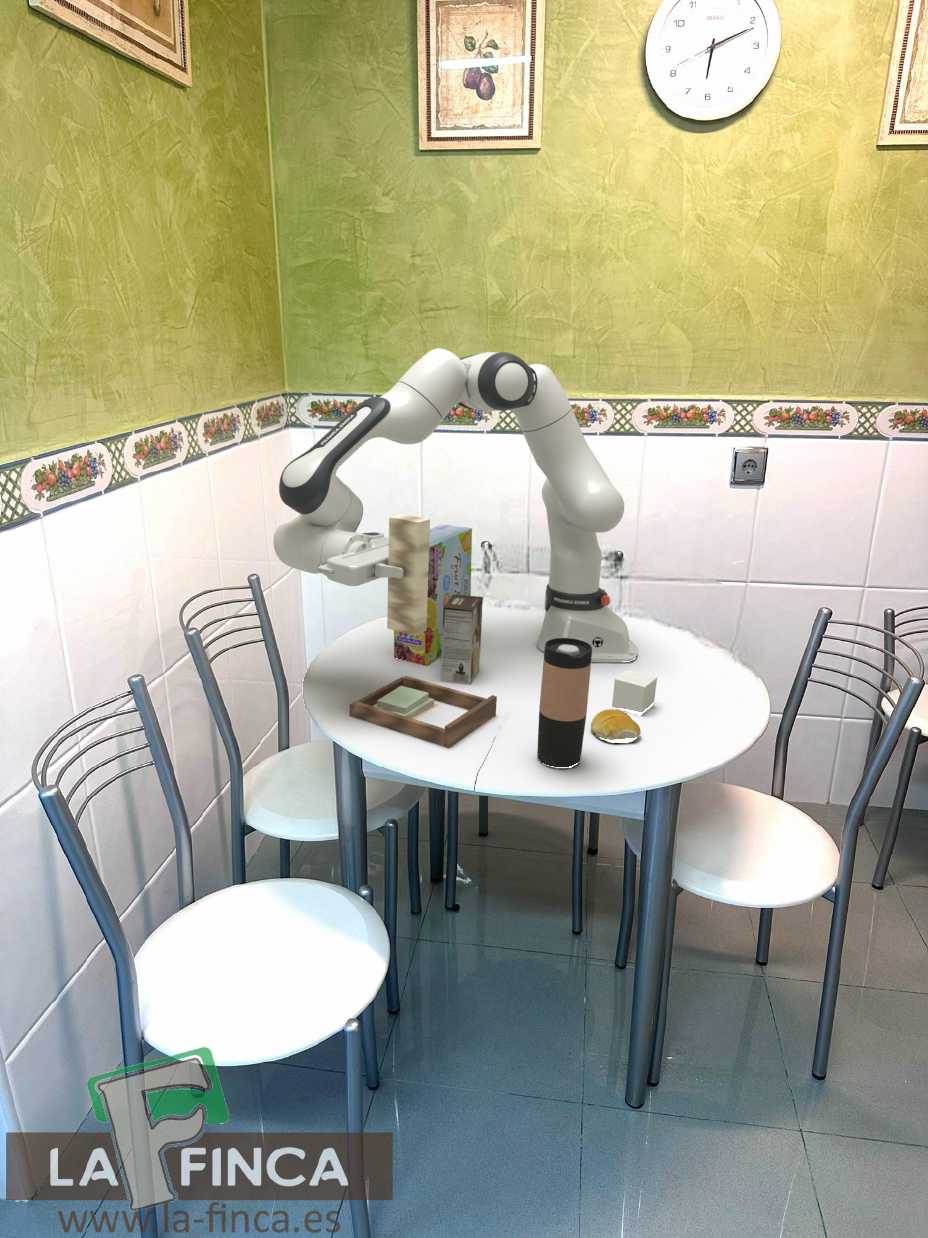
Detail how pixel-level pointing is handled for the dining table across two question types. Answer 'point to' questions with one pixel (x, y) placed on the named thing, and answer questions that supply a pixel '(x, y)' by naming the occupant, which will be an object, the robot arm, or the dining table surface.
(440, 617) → the snack box
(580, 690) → the travel mug
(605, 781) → the dining table surface
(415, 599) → the beige tall rectangular block
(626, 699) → the off-white cube
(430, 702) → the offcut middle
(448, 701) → the tray
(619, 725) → the bread roll
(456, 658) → the coffee box
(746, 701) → the dining table surface
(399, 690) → the offcut top
